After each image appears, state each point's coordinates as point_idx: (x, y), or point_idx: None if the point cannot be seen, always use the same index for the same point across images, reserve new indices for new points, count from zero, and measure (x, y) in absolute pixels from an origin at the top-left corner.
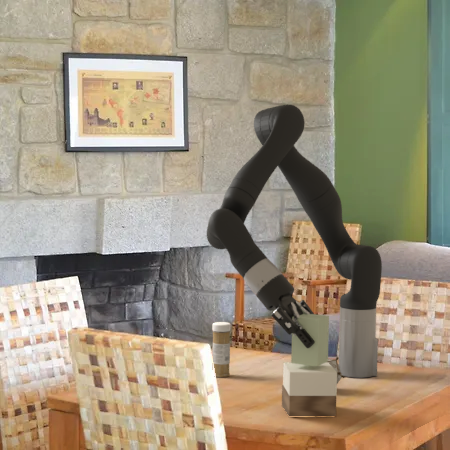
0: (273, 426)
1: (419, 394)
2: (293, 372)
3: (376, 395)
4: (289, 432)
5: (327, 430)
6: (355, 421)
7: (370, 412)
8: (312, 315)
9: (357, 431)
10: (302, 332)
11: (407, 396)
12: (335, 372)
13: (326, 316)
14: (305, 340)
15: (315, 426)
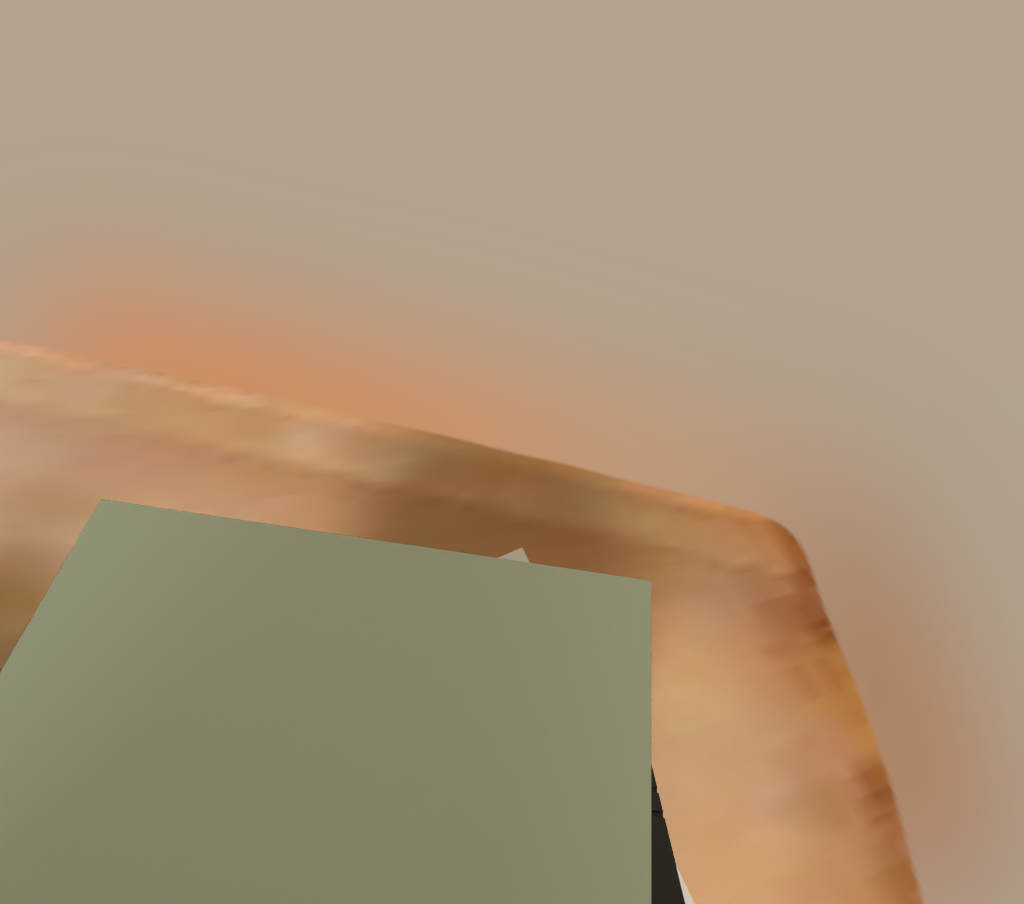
0: (799, 868)
1: (22, 380)
2: (677, 868)
3: (45, 529)
4: (837, 748)
5: (712, 598)
6: (533, 527)
7: (373, 500)
8: (110, 892)
9: (663, 495)
10: (674, 897)
11: (62, 414)
12: (525, 556)
13: (221, 519)
14: None
15: (684, 661)
